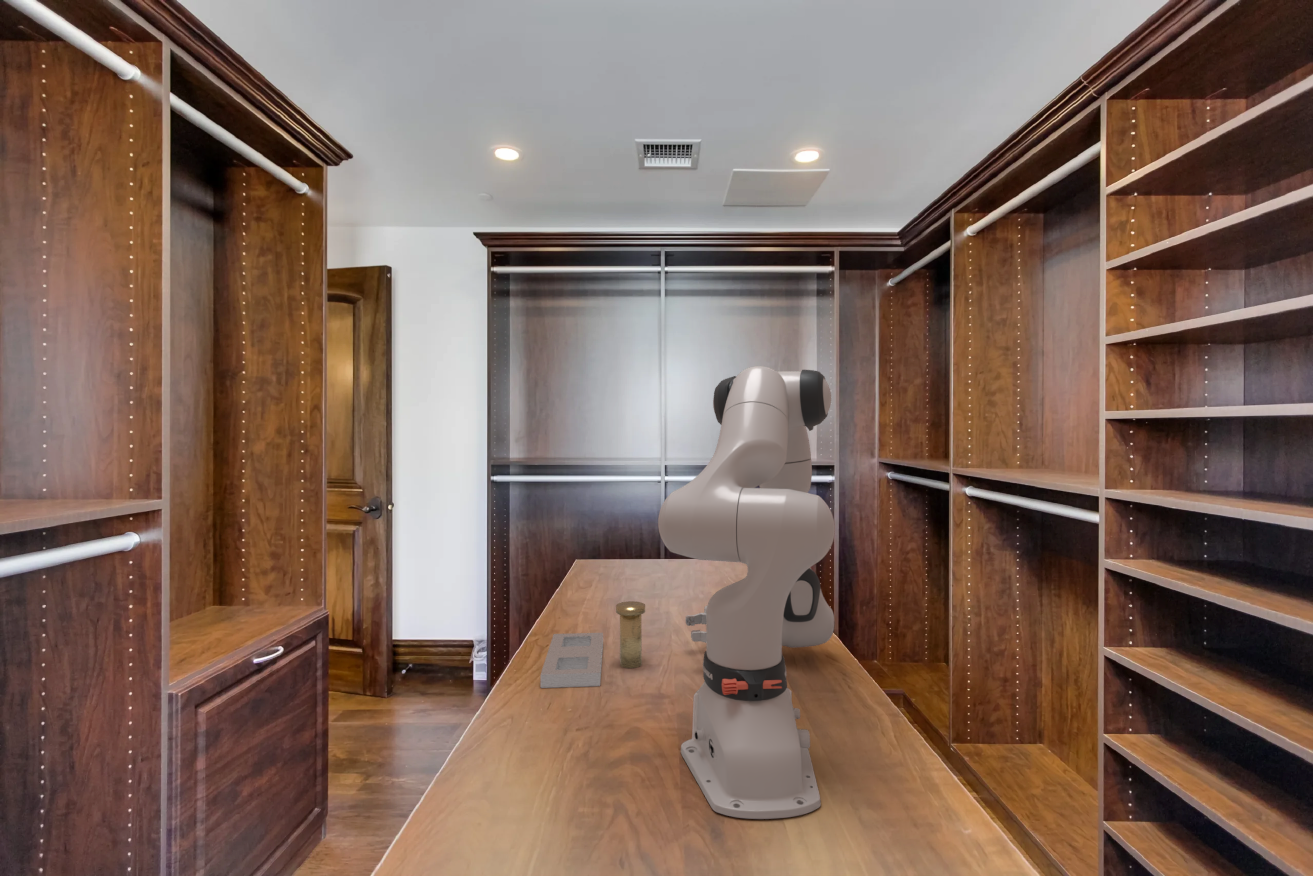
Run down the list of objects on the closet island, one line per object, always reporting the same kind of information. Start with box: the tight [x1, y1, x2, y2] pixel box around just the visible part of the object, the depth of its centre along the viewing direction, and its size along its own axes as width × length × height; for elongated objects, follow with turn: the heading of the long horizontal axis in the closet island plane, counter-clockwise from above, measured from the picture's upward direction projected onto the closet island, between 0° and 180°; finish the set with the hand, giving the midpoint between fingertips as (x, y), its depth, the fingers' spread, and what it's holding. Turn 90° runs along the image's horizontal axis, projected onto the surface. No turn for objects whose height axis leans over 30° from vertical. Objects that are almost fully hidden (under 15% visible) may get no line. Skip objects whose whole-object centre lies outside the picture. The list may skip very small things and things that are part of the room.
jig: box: [540, 632, 604, 689], centre depth 119 cm, size 22×11×2 cm, turn 4°
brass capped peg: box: [615, 601, 646, 669], centre depth 118 cm, size 6×6×12 cm
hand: (688, 628), depth 119 cm, fingers open, 8 cm apart
